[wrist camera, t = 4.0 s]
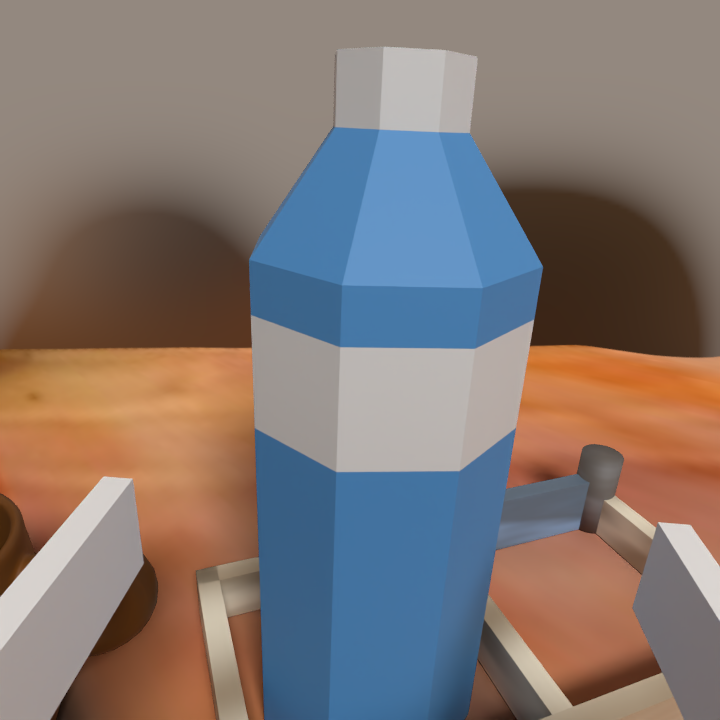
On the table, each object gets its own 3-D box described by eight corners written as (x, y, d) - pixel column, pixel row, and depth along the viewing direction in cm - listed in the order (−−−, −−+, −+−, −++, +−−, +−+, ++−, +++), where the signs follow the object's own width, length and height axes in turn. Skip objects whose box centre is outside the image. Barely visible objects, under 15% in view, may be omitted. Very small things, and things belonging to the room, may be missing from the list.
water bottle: (306, 841, 20) (314, 14, 10) (233, 638, 28) (199, 53, 18) (514, 729, 24) (658, 59, 14) (400, 579, 32) (445, 75, 22)
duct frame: (197, 598, 30) (190, 520, 28) (588, 506, 39) (604, 442, 37) (246, 917, 18) (241, 819, 16) (793, 680, 27) (831, 598, 25)
